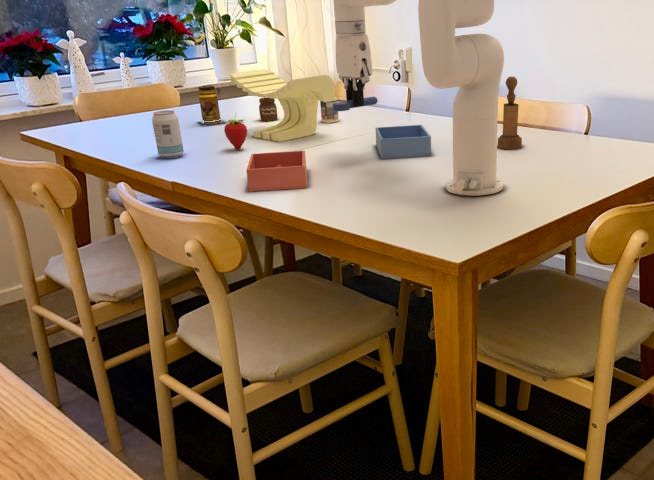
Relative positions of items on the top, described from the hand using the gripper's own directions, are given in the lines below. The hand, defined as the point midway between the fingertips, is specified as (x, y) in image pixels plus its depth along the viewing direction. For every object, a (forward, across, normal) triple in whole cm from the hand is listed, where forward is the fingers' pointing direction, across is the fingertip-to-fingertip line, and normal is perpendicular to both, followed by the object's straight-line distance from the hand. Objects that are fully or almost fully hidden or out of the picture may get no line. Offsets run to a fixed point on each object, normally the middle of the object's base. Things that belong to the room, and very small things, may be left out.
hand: (355, 105), depth 192 cm
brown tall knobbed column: (+13, -23, -34) cm, 43 cm away
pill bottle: (+13, +50, -24) cm, 57 cm away
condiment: (+13, +81, +4) cm, 82 cm away
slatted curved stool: (+13, +41, -2) cm, 44 cm away
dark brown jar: (+13, +70, -12) cm, 72 cm away
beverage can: (+13, +40, +36) cm, 55 cm away
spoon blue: (+1, 0, 0) cm, 1 cm away
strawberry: (+13, +33, +19) cm, 40 cm away
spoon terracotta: (+13, -7, +29) cm, 32 cm away
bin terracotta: (+13, -7, +29) cm, 32 cm away
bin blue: (+13, -4, -12) cm, 18 cm away
